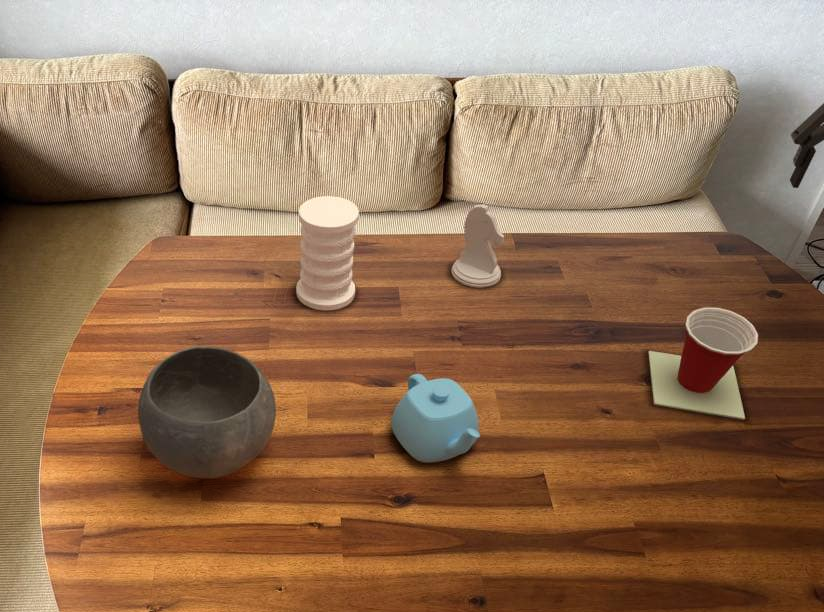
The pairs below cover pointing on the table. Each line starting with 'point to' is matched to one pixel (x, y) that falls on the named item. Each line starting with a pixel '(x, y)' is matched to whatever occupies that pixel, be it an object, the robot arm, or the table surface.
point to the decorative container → (327, 252)
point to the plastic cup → (713, 347)
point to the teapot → (435, 419)
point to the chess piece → (479, 250)
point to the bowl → (206, 411)
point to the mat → (674, 395)
